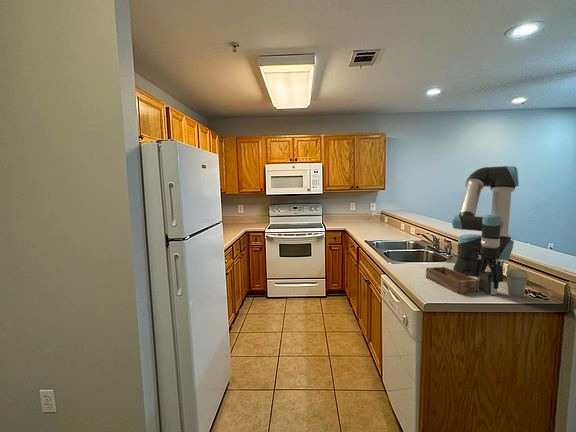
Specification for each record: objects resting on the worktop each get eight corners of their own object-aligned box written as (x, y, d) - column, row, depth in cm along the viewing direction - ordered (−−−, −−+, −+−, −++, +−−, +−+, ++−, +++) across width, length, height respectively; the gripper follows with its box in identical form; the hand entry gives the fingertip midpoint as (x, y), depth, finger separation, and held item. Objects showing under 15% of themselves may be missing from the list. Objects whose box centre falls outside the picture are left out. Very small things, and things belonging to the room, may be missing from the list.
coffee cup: (527, 300, 130) (529, 274, 129) (503, 295, 136) (505, 271, 134) (527, 294, 137) (529, 270, 135) (505, 290, 142) (506, 267, 141)
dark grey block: (487, 289, 143) (488, 271, 142) (495, 293, 138) (497, 274, 137) (478, 290, 142) (479, 271, 141) (486, 294, 137) (488, 274, 136)
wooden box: (443, 276, 164) (443, 266, 164) (478, 292, 140) (478, 280, 140) (425, 278, 162) (426, 267, 162) (457, 293, 139) (458, 281, 138)
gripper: (467, 242, 147) (464, 285, 149) (501, 251, 128) (498, 300, 130) (479, 242, 148) (477, 284, 150) (515, 250, 129) (512, 298, 131)
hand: (486, 291), depth 140 cm, fingers open, 7 cm apart
